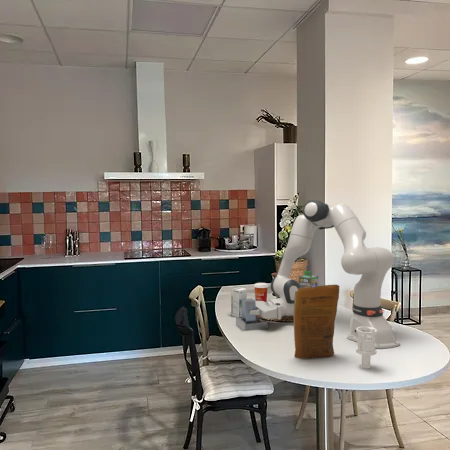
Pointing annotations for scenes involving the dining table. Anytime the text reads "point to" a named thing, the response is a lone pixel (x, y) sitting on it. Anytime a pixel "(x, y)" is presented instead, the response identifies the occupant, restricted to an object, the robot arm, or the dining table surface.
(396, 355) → the dining table surface
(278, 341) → the dining table surface
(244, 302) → the block
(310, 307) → the pancake mix bag
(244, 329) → the channel bracket
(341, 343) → the dining table surface
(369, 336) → the white stepped cylinder
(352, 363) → the dining table surface
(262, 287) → the paper cup
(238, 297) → the syrup box
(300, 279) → the chalk box
